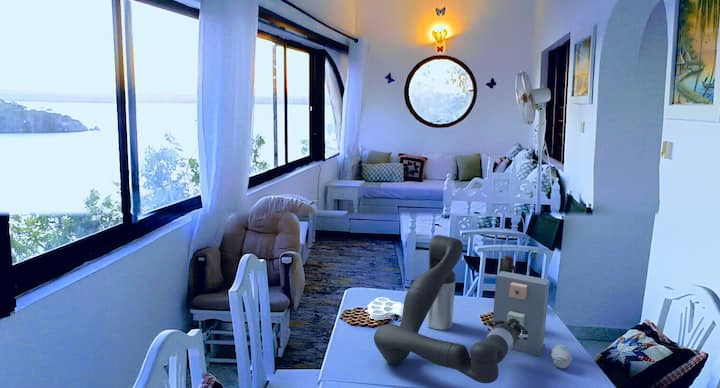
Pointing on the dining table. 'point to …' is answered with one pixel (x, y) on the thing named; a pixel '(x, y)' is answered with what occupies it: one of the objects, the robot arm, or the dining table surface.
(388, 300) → the white bumpy piece
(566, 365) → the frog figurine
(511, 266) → the lantern
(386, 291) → the dining table surface
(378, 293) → the dining table surface
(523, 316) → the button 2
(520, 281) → the large grey rectangular box
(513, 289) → the pink rectangular block
